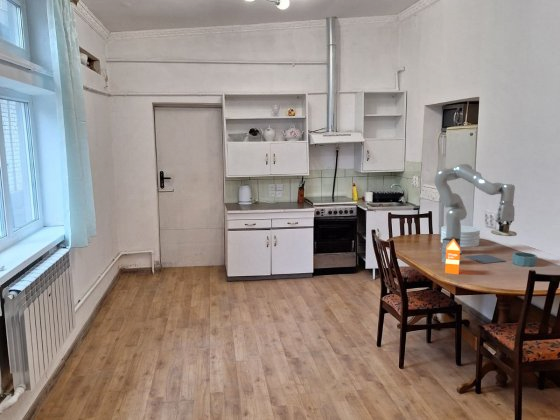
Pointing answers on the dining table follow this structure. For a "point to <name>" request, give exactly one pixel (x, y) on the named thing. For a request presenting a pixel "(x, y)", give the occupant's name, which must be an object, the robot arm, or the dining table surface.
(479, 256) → the mat
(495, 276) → the dining table surface
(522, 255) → the bowl
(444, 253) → the coffee box
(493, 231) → the lid
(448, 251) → the orange juice
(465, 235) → the plate stack
